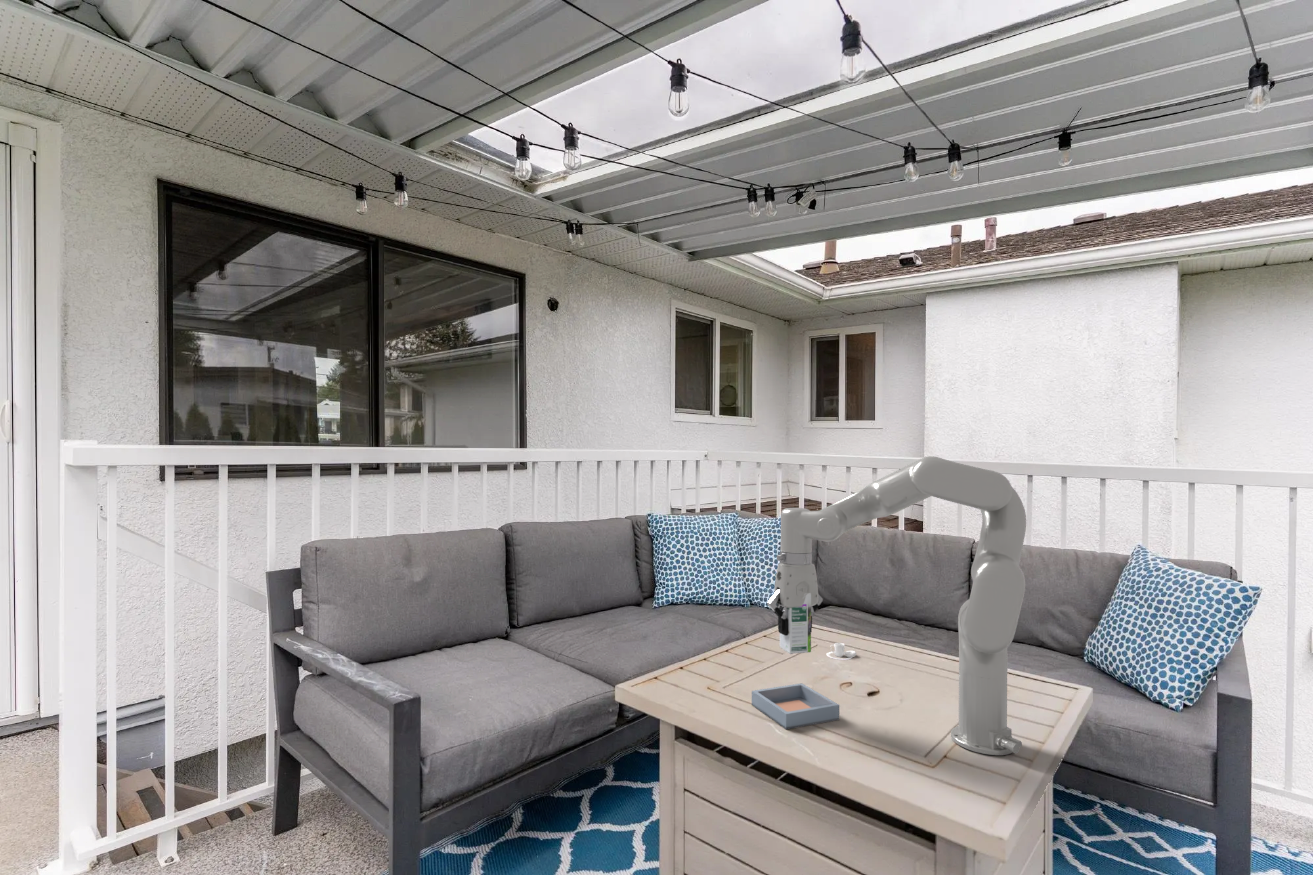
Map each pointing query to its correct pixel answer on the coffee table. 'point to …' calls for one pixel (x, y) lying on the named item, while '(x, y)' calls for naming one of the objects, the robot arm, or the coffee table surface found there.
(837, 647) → the teacup and saucer
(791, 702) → the box
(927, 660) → the coffee table surface
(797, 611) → the syrup box
